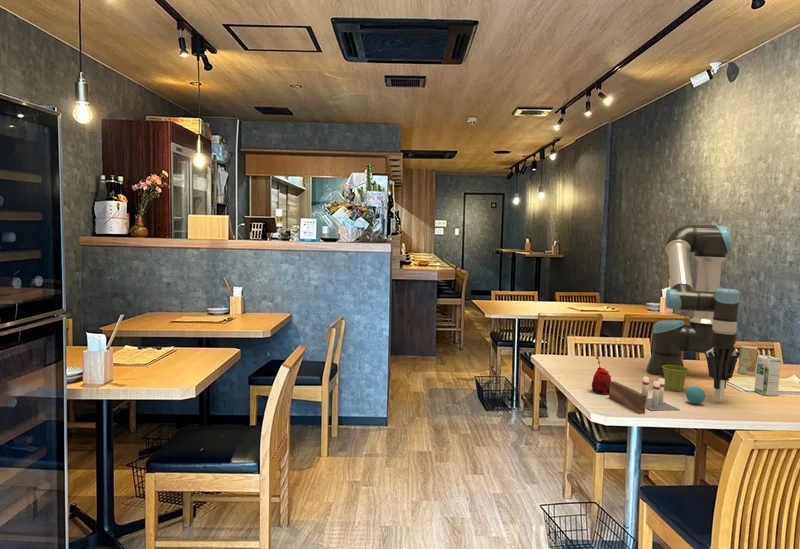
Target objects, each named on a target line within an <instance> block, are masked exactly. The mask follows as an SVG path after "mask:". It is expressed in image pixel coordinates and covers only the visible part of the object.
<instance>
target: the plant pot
mask: <svg viewBox="0 0 800 549" xmlns="http://www.w3.org/2000/svg"><path fill="white" fill-rule="evenodd" d="M662 368H663V371H664V377H663V379H665V386H664V389H665V390H667V391H671V392H673V391H675V392H683V390H684V385H685V381H686V377H687V374H688V372H689V370H690V368H688V367H685V366H684V367H682V366H677V365H663V366H662Z"/></svg>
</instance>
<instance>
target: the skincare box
mask: <svg viewBox="0 0 800 549" xmlns="http://www.w3.org/2000/svg"><path fill="white" fill-rule="evenodd" d="M739 347H740V348H739V352H740V356H739V357H738V366H737V373H738V374H740V375H748V376H755V377H756V367H757V357H758V347H757V346H749V345H748V346H747V345H740V346H739Z"/></svg>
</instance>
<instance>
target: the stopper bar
mask: <svg viewBox="0 0 800 549" xmlns="http://www.w3.org/2000/svg"><path fill="white" fill-rule="evenodd" d="M608 398H609V399H611V400H613V401H614V402H616V403H618V404H620V405H622V406H624V407H626V408H627V409H630V410H631V411H634V412H636V413H638V414H639V415H641V414H646V408H645V405H646V395H644V394H642V392H639V391H637V390H635V389H633V388H630V387H629V386H626V385H624V384H622V383H620V382H618V381H616V380H615V381H613V380H611V381H610V392H609V396H608Z"/></svg>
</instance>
